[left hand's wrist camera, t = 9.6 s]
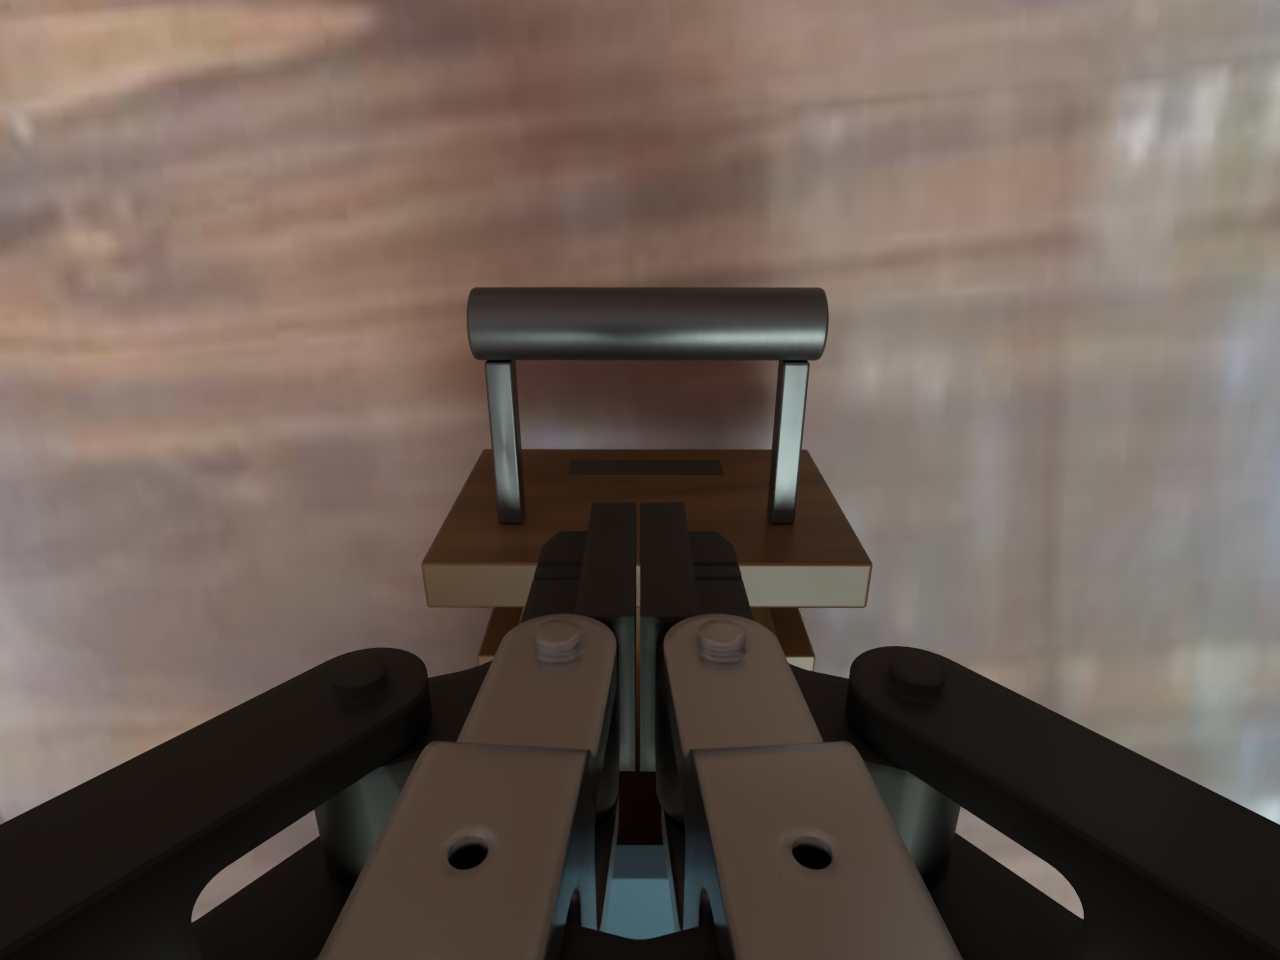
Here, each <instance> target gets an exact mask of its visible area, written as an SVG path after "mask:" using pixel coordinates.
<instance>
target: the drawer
mask: <svg viewBox="0 0 1280 960" xmlns="http://www.w3.org/2000/svg"><path fill="white" fill-rule="evenodd" d="M828 318H829V317H828V302H827V298H826V294H825V292H824V290H823V289H821V288H591V287H475V288H473V289H472V290H471V291H470V294H469V298H468V304H467V332H468V339H469V345H470V348H471V351H472V354H473V356H474V358H475V359H477V360H487V361H486V362H485V374H486V386H487V397H488V409H489V420H490V432H491V443H492V449H485V450H483V451H482V453H481V455H480V457H479V459H478V461H477V463H476V464H475V466H474V468H473V470H472V472H471V474H470V475H469V477H468V479H467V481H466V483H465V485H464V486H463V488H462V490H461V492H460V494H459V496H458V497H457V499H456V501H455V503H454V505H453V507H452V508H451V510H450V512H449V514H448V516H447V518H446V519H445V521H444V523H443V525H442V527H441V529H440V531H439V532H438V534H437V536H436V538H435V540H434V542H433V543H432V545H431V547H430V549H429V551H428V553H427V554H426V556H425V558H424V560H423V562H422V571H423V578H424V585H425V593H426V600H427V605H428V607H494V608H493V611H492V614H491V617H490V620H489V623H488V626H487V629H486V632H485V635H484V638H483V641H482V644H481V647H480V650H479V653H478V665H479V666H480V665H482V664H485V663H487V662H489V661H491V660H493V659H494V656H495V654H496V652H497V650H498V647H499V645H500V643H501V641H502V639H503V638H504V636H505V635H506V634H507V633H508V632H509V631H510V630H512V629H513V628H514V627H516V626H517V625H519V624H520V623H521V620H522V616H523V613H524V609H525V606H526V602H527V598H528V595H529V591H530V588H531V584H532V581H533V580H534V574H535V570H536V566H538V559H539V556H540V552H541V549H542V546H543V545H544V544H545V543H546V542H547V541H548V540H550V539H551V538H552V537H553V536H554V535H555V534H557V533H558V532H559V531H588V525H589V518H590V512H591V506H592V502H636V714H635V771H619V788H618V795H619V827H618V835H617V843H616V845H664V843H663V835H662V827H661V804H660V802H659V800H658V797H657V791H656V771H640V502H684V505H685V512H686V519H687V526H688V531H717V532H718V533H719V534H720V535H722V536H723V537H724V538H725V539H726V540H727V541H729V542H730V543H731V544H732V545H733V546H734V549H735V553H736V556H737V560H738V566H739V568H740V571H741V575H742V580H743V582H744V586H745V590H746V594H747V597H748V601H749V605H750V608H751V612H752V616H753V620H754V621H755V622H757V623H759V624H761V625H763V626H764V627H766V628H767V629H768V630H770V631H771V632H772V633H773V634H774V635H775V636H776V638H777V639H778V641H779V643H780V645H781V647H782V650H783V652H784V654H785V656H786V659H787V661H788V663H790V664H792V665H794V666H797V667H800V668H802V669H805V670H809V671H813V672H814V664H815V654H814V651H813V649H812V646H811V643H810V640H809V637H808V634H807V632H806V629H805V626H804V623H803V620H802V617H801V614H800V612H799V609H798V608H864V607H866V605H867V598H868V592H869V585H870V578H871V572H872V562H871V560H870V559H869V557H868V555H867V553H866V552H865V550H864V548H863V546H862V545H861V543H860V541H859V539H858V538H857V536H856V534H855V532H854V531H853V529H852V527H851V525H850V524H849V522H848V520H847V519H846V517H845V515H844V513H843V512H842V510H841V508H840V506H839V505H838V503H837V501H836V499H835V498H834V496H833V494H832V492H831V491H830V489H829V487H828V485H827V484H826V482H825V480H824V478H823V477H822V475H821V473H820V471H819V470H818V468H817V466H816V464H815V463H814V461H813V459H812V458H811V456H810V454H809V452H808V451H807V450H802V439H803V429H804V419H805V408H806V398H807V388H808V377H809V367H810V364H809V362H808V361H807V360H818V359H820V358H821V356H822V354H823V351H824V348H825V345H826V340H827V333H828ZM515 360H779V366H778V379H777V391H776V404H775V416H774V429H773V442H772V450H562V449H521V436H520V422H519V407H518V393H517V379H516V364H515Z"/></svg>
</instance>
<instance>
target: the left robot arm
mask: <svg viewBox="0 0 1280 960" xmlns="http://www.w3.org/2000/svg"><path fill="white" fill-rule="evenodd" d="M635 714H636V502H592V506H591V512H590V518H589V525H588V531H559V532H558V533H557V534H555V535H554V536H553V537H552V538H551V539H550V540H548V541H547V542H546V543H545V544H544V545H543V546H542V549H541V552H540V556H539V559H538V566H536V570H535V574H534V580H533V581H532V584H531V588H530V591H529V595H528V598H527V602H526V606H525V609H524V613H523V616H522V620H521V623H520V624H519V625H517V626H516V627H514V628H513V629H512V630H510V631H509V632H508V633H507V634H506V635H505V636H504V638H503V639H502V641H501V643H500V645H499V647H498V650H497V652H496V654H495V656H494V659H493V660H491V661H489V662H487V663H485V664H482V665H480V666H477V667H474V668H471V669H468V670H464V671H460V672H456V673H451V674H446V675H441V676H436V677H431V678H428V675H427V669H426V666H425V664H424V663H423V661H422V660H421V659H420V658H418V657H417V656H416V655H414V654H412V653H410V652H407V651H404V650H400V649H394V648H369V649H363V650H357V651H353V652H349V653H346V654H343V655H340V656H337V657H335V658H333V659H331V660H328V661H326V662H324V663H322V664H320V665H318V666H316V667H314V668H312V669H310V670H308V671H306V672H304V673H302V674H300V675H298V676H296V677H294V678H292V679H290V680H288V681H286V682H284V683H282V684H280V685H278V686H276V687H274V688H272V689H270V690H268V691H266V692H264V693H262V694H260V695H258V696H256V697H254V698H252V699H250V700H248V701H246V702H244V703H242V704H240V705H238V706H236V707H234V708H232V709H230V710H228V711H226V712H224V713H222V714H220V715H218V716H216V717H214V718H212V719H210V720H208V721H206V722H204V723H202V724H200V725H198V726H196V727H194V728H192V729H191V730H189V731H187V732H185V733H183V734H181V735H179V736H177V737H175V738H173V739H171V740H169V741H167V742H165V743H163V744H161V745H159V746H157V747H155V748H153V749H151V750H149V751H147V752H145V753H143V754H141V755H139V756H137V757H135V758H133V759H131V760H129V761H127V762H125V763H123V764H121V765H119V766H117V767H115V768H113V769H111V770H109V771H107V772H105V773H103V774H101V775H99V776H97V777H95V778H93V779H91V780H89V781H87V782H85V783H83V784H81V785H79V786H77V787H75V788H73V789H71V790H69V791H67V792H65V793H63V794H61V795H59V796H57V797H55V798H53V799H51V800H49V801H47V802H45V803H43V804H41V805H39V806H37V807H35V808H33V809H31V810H29V811H27V812H25V813H23V814H21V815H19V816H17V817H15V818H13V819H11V820H9V821H7V822H5V823H3V824H1V825H0V960H1280V825H1279V824H1277V823H1275V822H1273V821H1271V820H1269V819H1267V818H1265V817H1263V816H1261V815H1259V814H1257V813H1255V812H1253V811H1251V810H1249V809H1247V808H1245V807H1243V806H1241V805H1239V804H1237V803H1235V802H1233V801H1231V800H1229V799H1227V798H1225V797H1223V796H1221V795H1219V794H1217V793H1215V792H1213V791H1211V790H1209V789H1207V788H1205V787H1203V786H1201V785H1199V784H1197V783H1195V782H1193V781H1191V780H1189V779H1187V778H1185V777H1183V776H1181V775H1179V774H1177V773H1175V772H1173V771H1171V770H1169V769H1167V768H1165V767H1163V766H1161V765H1159V764H1157V763H1155V762H1153V761H1151V760H1149V759H1147V758H1145V757H1143V756H1141V755H1139V754H1137V753H1135V752H1133V751H1131V750H1129V749H1127V748H1125V747H1123V746H1121V745H1119V744H1117V743H1115V742H1113V741H1111V740H1109V739H1107V738H1105V737H1103V736H1101V735H1099V734H1097V733H1095V732H1093V731H1091V730H1089V729H1087V728H1085V727H1083V726H1081V725H1079V724H1077V723H1076V722H1074V721H1072V720H1070V719H1068V718H1066V717H1064V716H1062V715H1060V714H1058V713H1056V712H1054V711H1052V710H1050V709H1048V708H1046V707H1044V706H1042V705H1040V704H1038V703H1036V702H1034V701H1032V700H1030V699H1028V698H1026V697H1024V696H1022V695H1020V694H1018V693H1016V692H1014V691H1012V690H1010V689H1008V688H1006V687H1004V686H1002V685H1000V684H998V683H996V682H994V681H992V680H990V679H988V678H986V677H984V676H982V675H980V674H978V673H976V672H974V671H972V670H970V669H968V668H966V667H964V666H962V665H960V664H958V663H956V662H954V661H952V660H950V659H948V658H945V657H943V656H941V655H938V654H935V653H932V652H929V651H926V650H922V649H917V648H911V647H901V646H887V647H880V648H875V649H872V650H868V651H866V652H864V653H862V654H861V655H859V656H858V657H857V658H856V659H855V660H854V661H853V663H852V665H851V668H850V675H849V679H847V678H842V677H837V676H832V675H827V674H823V673H818V672H813V671H809V670H805V669H802V668H800V667H797V666H794V665H792V664H790V663H788V661H787V659H786V656H785V654H784V652H783V650H782V647H781V645H780V643H779V641H778V639H777V638H776V636H775V635H774V634H773V633H772V632H771V631H770V630H768V629H767V628H766V627H764V626H763V625H761V624H759V623H757V622H755V621H754V620H753V616H752V612H751V608H750V605H749V601H748V597H747V594H746V590H745V586H744V582H743V580H742V575H741V571H740V568H739V566H738V560H737V556H736V553H735V549H734V546H733V545H732V544H731V543H730V542H729V541H727V540H726V539H725V538H724V537H723V536H722V535H720V534H719V533H718V532H717V531H688V526H687V519H686V512H685V505H684V502H640V771H656V791H657V797H658V800H659V802H660V804H661V827H662V835H663V843H664V851H665V859H666V867H667V874H668V882H669V890H670V898H671V906H672V914H673V922H674V929H675V932H674V933H670V934H666V935H662V936H658V937H655V938H649V939H631V938H625V937H622V936H618V935H614V934H610V933H606V932H605V929H606V922H607V914H608V906H609V898H610V890H611V882H612V874H613V867H614V859H615V851H616V843H617V835H618V827H619V795H618V788H619V771H635ZM960 806H961V807H963V808H964V809H966V810H968V811H969V812H971V813H972V814H974V815H975V816H977V817H978V818H980V819H981V820H983V821H984V822H986V823H987V824H989V825H990V826H992V827H994V828H995V829H997V830H998V831H1000V832H1001V833H1003V834H1004V835H1006V836H1007V837H1009V838H1010V839H1012V840H1013V841H1015V842H1017V843H1018V844H1020V845H1021V846H1023V847H1024V848H1026V849H1027V850H1029V851H1030V852H1032V853H1033V854H1035V855H1036V856H1038V857H1040V858H1041V859H1043V860H1044V861H1046V862H1047V863H1049V864H1050V865H1051V866H1053V867H1054V868H1055V869H1057V870H1058V871H1059V872H1060V873H1061V874H1062V875H1063V876H1064V877H1065V878H1066V879H1067V880H1068V881H1069V883H1070V884H1071V885H1072V887H1073V888H1074V889H1075V891H1076V893H1077V895H1078V896H1079V899H1080V901H1081V903H1082V907H1083V911H1084V920H1083V919H1081V918H1080V917H1078V916H1076V915H1075V914H1073V913H1072V912H1070V911H1069V910H1067V909H1066V908H1065V907H1063V906H1062V905H1060V904H1059V903H1057V902H1056V901H1054V900H1053V899H1051V898H1050V897H1048V896H1047V895H1046V894H1044V893H1043V892H1041V891H1040V890H1038V889H1037V888H1035V887H1034V886H1032V885H1031V884H1030V883H1028V882H1027V881H1025V880H1024V879H1022V878H1021V877H1019V876H1018V875H1016V874H1015V873H1013V872H1012V871H1011V870H1009V869H1008V868H1006V867H1005V866H1003V865H1002V864H1000V863H999V862H997V861H996V860H995V859H993V858H992V857H990V856H989V855H987V854H986V853H984V852H983V851H981V850H980V849H978V848H977V847H976V846H974V845H973V844H971V843H970V842H968V841H967V840H965V839H964V838H962V837H961V836H959V835H958V834H957V833H955V830H956V825H957V821H958V816H959V811H960ZM312 810H315V815H316V820H317V825H318V829H319V834H320V836H319V837H318V838H316V839H315V840H313V841H312V842H310V843H309V844H307V845H306V846H304V847H303V848H302V849H300V850H299V851H297V852H296V853H294V854H293V855H291V856H290V857H288V858H287V859H285V860H284V861H283V862H281V863H280V864H278V865H277V866H275V867H274V868H272V869H271V870H269V871H268V872H267V873H265V874H264V875H262V876H261V877H259V878H258V879H256V880H255V881H253V882H252V883H250V884H249V885H248V886H246V887H245V888H243V889H242V890H240V891H239V892H237V893H236V894H234V895H233V896H231V897H230V898H229V899H227V900H226V901H224V902H223V903H221V904H220V905H218V906H217V907H215V908H214V909H213V910H211V911H210V912H208V913H207V914H205V915H204V916H202V917H201V918H199V919H198V920H196V921H194V922H191V916H192V911H193V907H194V905H195V902H196V900H197V898H198V896H199V895H200V893H201V891H202V890H203V889H204V887H205V886H206V885H207V884H208V883H209V881H210V880H211V879H212V878H213V877H214V876H215V875H217V874H218V873H219V872H220V871H221V870H223V869H224V868H225V867H227V866H228V865H230V864H231V863H233V862H234V861H236V860H237V859H239V858H240V857H242V856H244V855H245V854H247V853H248V852H250V851H251V850H253V849H254V848H256V847H257V846H259V845H260V844H262V843H263V842H265V841H267V840H268V839H270V838H271V837H273V836H274V835H276V834H277V833H279V832H280V831H282V830H283V829H285V828H286V827H288V826H289V825H291V824H293V823H294V822H296V821H297V820H299V819H300V818H302V817H303V816H305V815H306V814H308V813H309V812H311V811H312Z"/></svg>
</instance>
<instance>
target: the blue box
mask: <svg viewBox="0 0 1280 960" xmlns="http://www.w3.org/2000/svg"><path fill="white" fill-rule="evenodd" d="M605 932H606V933H610V934H614V935H618V936H622V937H625V938H631V939H649V938H655V937H658V936H662V935H666V934H670V933H674V932H675V929H674V922H673V914H672V906H671V898H670V890H669V882H668V874H667V867H666V859H665V851H664V845H616V851H615V859H614V867H613V874H612V882H611V890H610V898H609V906H608V914H607V922H606V929H605Z"/></svg>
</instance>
